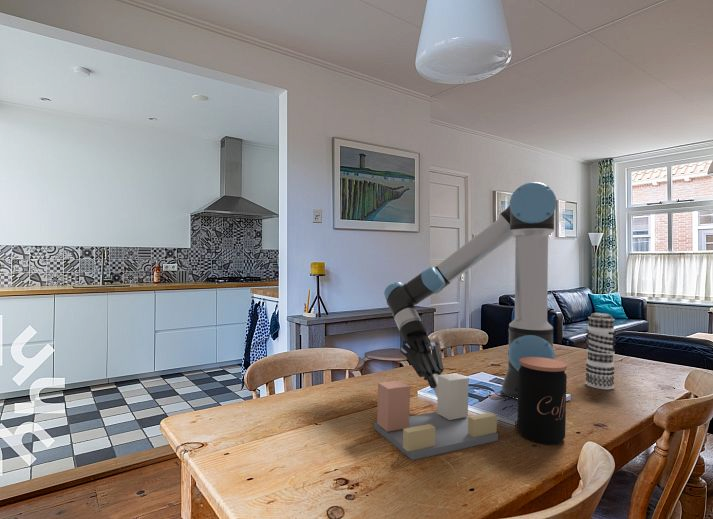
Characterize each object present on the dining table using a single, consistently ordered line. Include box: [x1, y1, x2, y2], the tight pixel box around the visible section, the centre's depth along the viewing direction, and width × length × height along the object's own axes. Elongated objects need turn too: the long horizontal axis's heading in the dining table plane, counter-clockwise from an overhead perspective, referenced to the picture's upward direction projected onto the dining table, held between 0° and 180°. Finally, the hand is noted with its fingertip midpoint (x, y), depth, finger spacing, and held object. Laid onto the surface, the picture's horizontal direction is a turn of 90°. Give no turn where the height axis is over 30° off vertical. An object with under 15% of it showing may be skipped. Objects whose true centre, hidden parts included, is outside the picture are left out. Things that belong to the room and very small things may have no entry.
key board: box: [373, 411, 499, 461], centre depth 97 cm, size 17×25×6 cm
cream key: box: [436, 372, 470, 420], centre depth 105 cm, size 5×6×10 cm
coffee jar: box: [516, 357, 568, 445], centre depth 97 cm, size 11×11×18 cm
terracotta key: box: [376, 379, 411, 432], centre depth 97 cm, size 5×6×10 cm
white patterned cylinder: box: [585, 312, 617, 390], centre depth 139 cm, size 9×9×25 cm
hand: (442, 397), depth 108 cm, fingers closed
